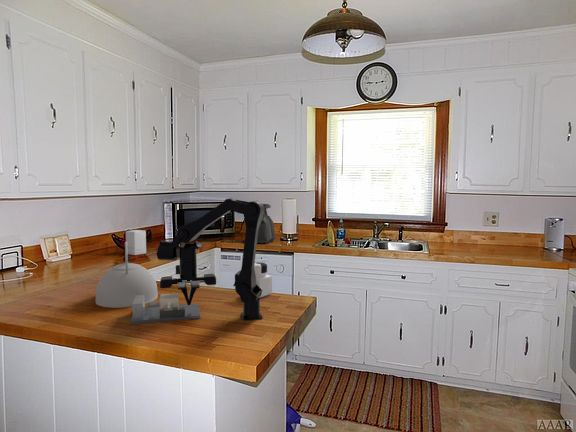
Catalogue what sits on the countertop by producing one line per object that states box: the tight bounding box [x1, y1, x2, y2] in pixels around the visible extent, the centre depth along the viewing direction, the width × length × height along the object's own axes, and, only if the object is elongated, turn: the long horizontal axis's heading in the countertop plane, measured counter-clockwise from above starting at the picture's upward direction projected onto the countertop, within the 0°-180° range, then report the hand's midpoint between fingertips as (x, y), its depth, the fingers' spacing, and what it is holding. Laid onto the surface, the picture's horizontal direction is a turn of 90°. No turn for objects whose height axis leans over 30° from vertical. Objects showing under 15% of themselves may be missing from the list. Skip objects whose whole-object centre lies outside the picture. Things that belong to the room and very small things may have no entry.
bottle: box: [257, 203, 277, 244], centre depth 301 cm, size 18×16×30 cm
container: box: [254, 261, 273, 299], centre depth 159 cm, size 8×8×13 cm
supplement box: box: [125, 229, 147, 256], centre depth 249 cm, size 9×9×15 cm
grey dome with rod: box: [95, 241, 159, 309], centre depth 153 cm, size 25×23×23 cm
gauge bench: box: [129, 295, 201, 325], centre depth 134 cm, size 14×22×6 cm, turn 106°
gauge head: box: [147, 293, 180, 309], centre depth 132 cm, size 10×10×5 cm
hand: (188, 304), depth 136 cm, fingers closed
